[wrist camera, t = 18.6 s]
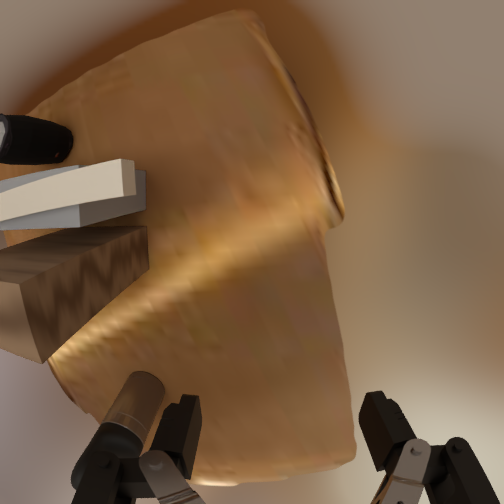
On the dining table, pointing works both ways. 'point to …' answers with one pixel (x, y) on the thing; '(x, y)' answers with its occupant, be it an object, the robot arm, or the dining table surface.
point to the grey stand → (75, 213)
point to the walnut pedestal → (64, 284)
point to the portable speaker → (32, 140)
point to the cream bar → (70, 189)
